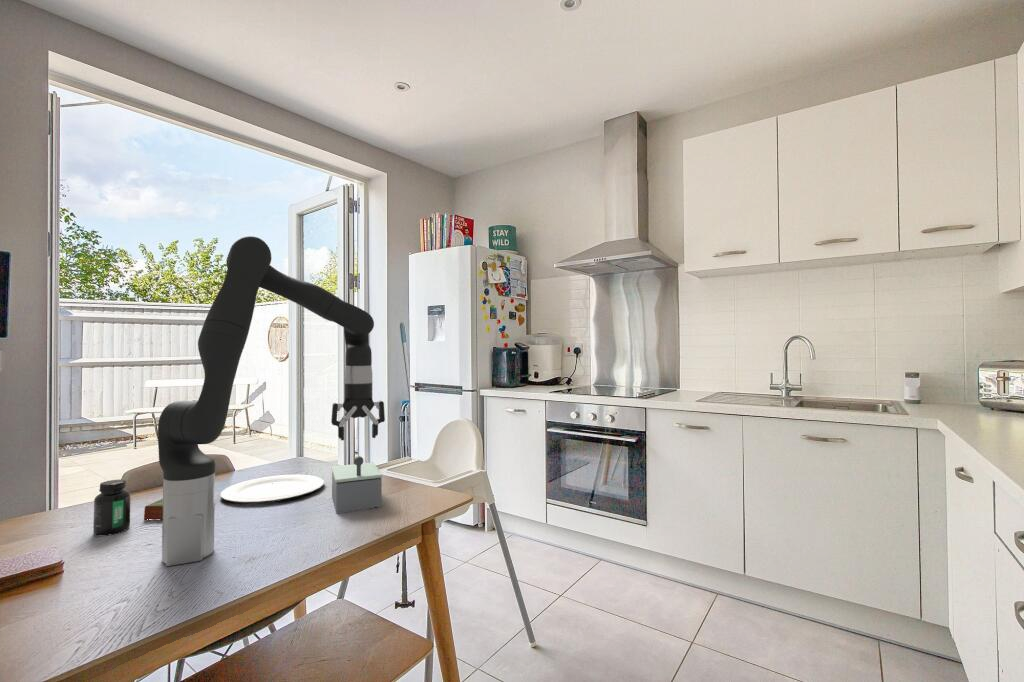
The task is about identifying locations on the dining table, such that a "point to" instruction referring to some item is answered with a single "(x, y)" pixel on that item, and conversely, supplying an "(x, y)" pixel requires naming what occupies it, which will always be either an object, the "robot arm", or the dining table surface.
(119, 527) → the supplement bottle
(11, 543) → the dining table surface
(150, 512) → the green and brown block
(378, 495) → the box
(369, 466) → the lid
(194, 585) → the dining table surface
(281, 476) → the plate
